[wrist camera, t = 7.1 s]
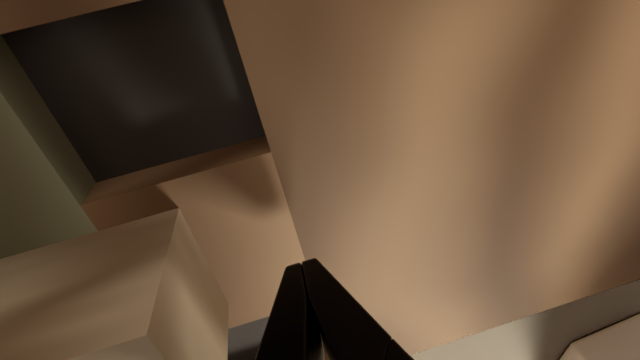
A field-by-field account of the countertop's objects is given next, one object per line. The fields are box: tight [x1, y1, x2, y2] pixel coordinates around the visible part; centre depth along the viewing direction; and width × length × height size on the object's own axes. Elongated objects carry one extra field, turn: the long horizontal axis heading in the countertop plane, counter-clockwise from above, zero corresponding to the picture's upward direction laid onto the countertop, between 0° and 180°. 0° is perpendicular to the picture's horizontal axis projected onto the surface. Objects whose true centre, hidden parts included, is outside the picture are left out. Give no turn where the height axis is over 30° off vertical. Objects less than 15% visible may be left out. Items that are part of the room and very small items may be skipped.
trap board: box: [0, 0, 640, 360], centre depth 11 cm, size 25×16×4 cm, turn 102°
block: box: [0, 208, 229, 360], centre depth 9 cm, size 5×4×4 cm
